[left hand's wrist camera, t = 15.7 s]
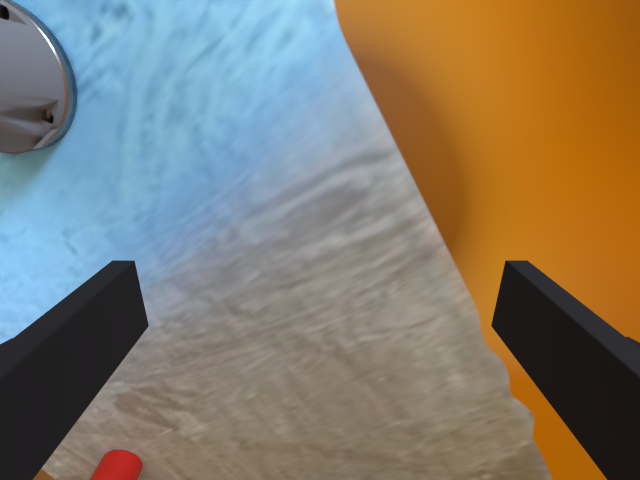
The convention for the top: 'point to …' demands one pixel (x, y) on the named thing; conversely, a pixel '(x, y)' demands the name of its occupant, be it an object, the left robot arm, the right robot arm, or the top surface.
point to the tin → (118, 466)
